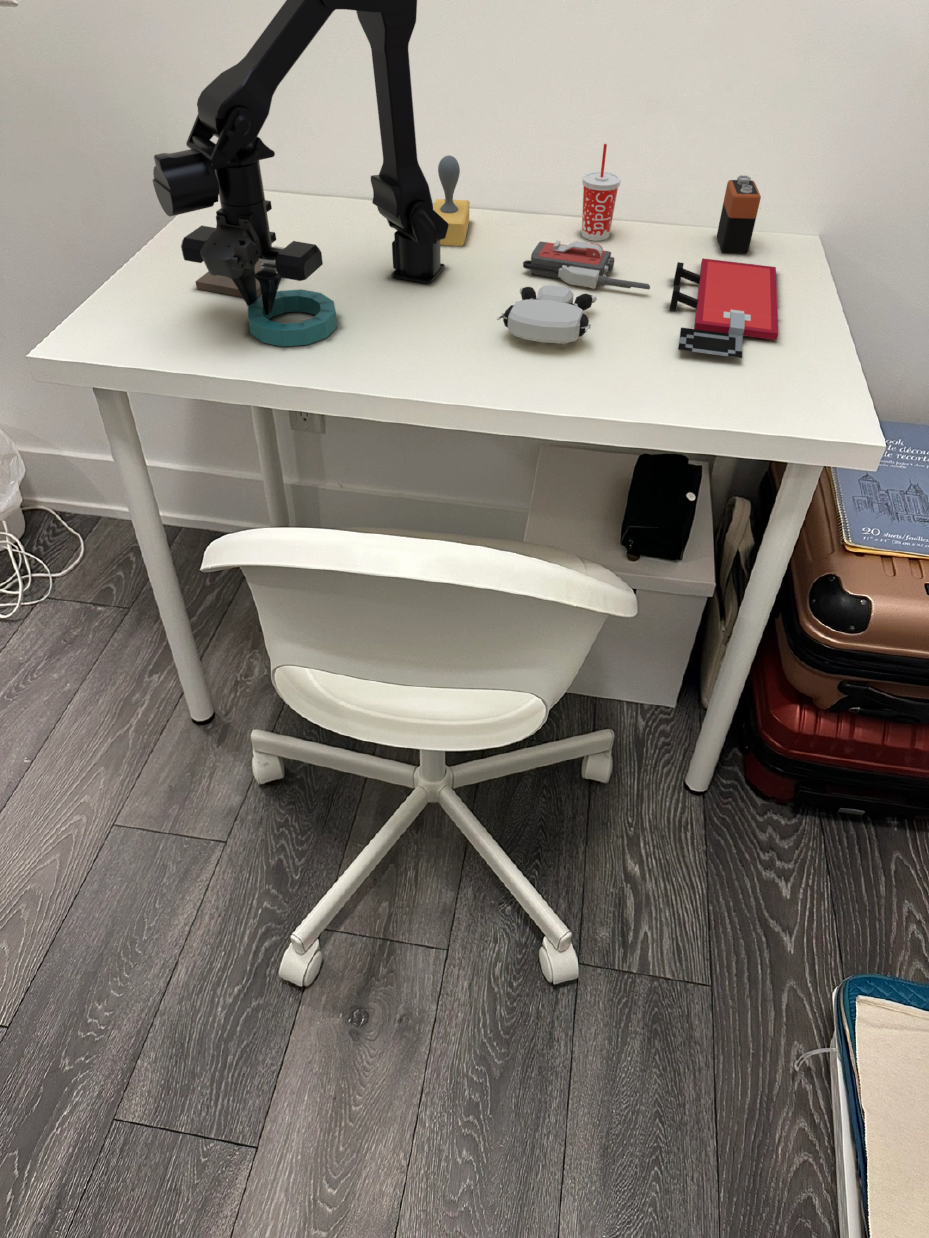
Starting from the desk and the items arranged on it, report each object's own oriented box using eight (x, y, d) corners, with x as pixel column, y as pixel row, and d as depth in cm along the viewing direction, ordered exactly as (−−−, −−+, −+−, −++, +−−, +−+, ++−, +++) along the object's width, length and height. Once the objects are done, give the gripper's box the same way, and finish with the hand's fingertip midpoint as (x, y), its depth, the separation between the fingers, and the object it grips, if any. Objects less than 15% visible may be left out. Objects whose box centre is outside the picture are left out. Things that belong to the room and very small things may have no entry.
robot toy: (516, 306, 132) (494, 347, 121) (518, 275, 129) (495, 314, 118) (598, 316, 130) (583, 359, 119) (602, 285, 127) (587, 326, 116)
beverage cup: (574, 240, 147) (583, 149, 137) (579, 226, 151) (588, 136, 141) (611, 244, 146) (623, 152, 136) (615, 229, 150) (626, 139, 140)
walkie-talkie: (517, 279, 137) (647, 299, 132) (519, 251, 134) (651, 270, 129) (533, 256, 143) (657, 275, 138) (535, 228, 140) (662, 246, 135)
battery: (742, 237, 148) (756, 174, 141) (748, 254, 144) (763, 190, 137) (715, 236, 149) (728, 173, 141) (721, 253, 144) (734, 189, 137)
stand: (287, 272, 138) (280, 221, 133) (255, 300, 132) (246, 248, 126) (231, 262, 141) (222, 212, 135) (196, 289, 134) (185, 237, 129)
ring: (350, 314, 129) (349, 298, 127) (312, 352, 121) (309, 336, 119) (276, 300, 132) (274, 284, 130) (234, 337, 124) (231, 321, 122)
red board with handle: (662, 354, 120) (776, 369, 118) (666, 334, 118) (782, 350, 116) (676, 264, 141) (773, 276, 139) (679, 246, 139) (778, 258, 137)
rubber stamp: (435, 220, 153) (434, 145, 144) (469, 222, 152) (470, 146, 144) (428, 244, 146) (427, 166, 137) (464, 246, 145) (464, 168, 137)
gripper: (144, 210, 112) (172, 326, 124) (275, 232, 108) (292, 350, 119) (193, 180, 120) (215, 292, 131) (317, 199, 115) (330, 314, 126)
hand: (261, 312), depth 127 cm, fingers closed on ring, 2 cm apart
